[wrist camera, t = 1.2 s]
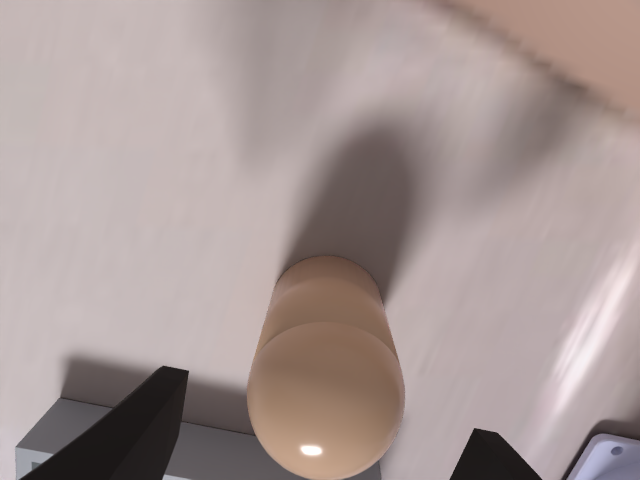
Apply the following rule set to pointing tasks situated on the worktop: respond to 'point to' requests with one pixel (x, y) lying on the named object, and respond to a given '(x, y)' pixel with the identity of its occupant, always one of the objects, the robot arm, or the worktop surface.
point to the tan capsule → (326, 372)
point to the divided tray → (188, 455)
